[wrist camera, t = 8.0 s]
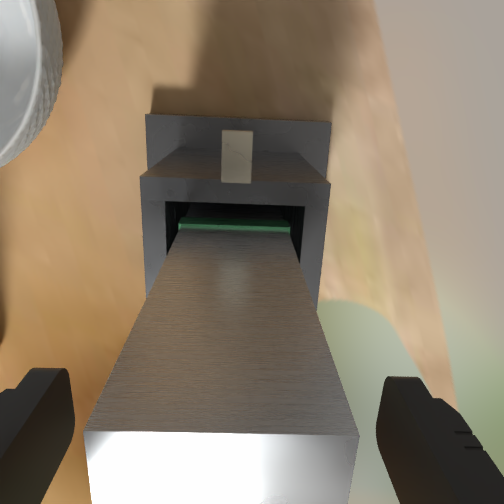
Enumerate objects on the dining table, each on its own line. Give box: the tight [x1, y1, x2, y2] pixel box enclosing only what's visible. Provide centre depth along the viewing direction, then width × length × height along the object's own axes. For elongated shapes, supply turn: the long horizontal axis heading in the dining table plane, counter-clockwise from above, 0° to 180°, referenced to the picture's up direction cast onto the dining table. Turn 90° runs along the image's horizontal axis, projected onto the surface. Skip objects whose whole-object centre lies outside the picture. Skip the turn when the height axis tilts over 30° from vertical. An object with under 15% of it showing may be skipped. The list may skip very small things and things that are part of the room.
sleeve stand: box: [140, 113, 332, 311], centre depth 24 cm, size 12×12×13 cm
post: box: [83, 202, 360, 504], centre depth 15 cm, size 5×5×16 cm
